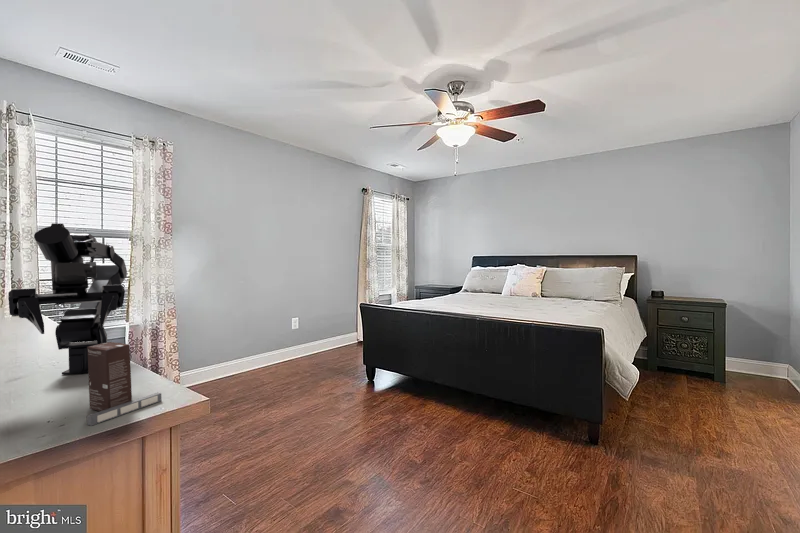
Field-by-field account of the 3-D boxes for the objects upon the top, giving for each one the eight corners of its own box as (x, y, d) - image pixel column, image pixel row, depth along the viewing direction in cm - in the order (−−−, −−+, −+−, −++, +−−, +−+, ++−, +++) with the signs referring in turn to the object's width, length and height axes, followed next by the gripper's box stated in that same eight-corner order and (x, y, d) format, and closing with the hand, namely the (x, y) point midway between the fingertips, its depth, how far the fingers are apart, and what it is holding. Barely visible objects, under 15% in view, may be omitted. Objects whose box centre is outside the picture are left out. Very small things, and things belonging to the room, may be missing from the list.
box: (87, 410, 69) (85, 346, 69) (113, 401, 73) (112, 341, 73) (107, 415, 67) (105, 348, 67) (133, 406, 71) (132, 343, 71)
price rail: (87, 424, 63) (86, 415, 63) (157, 399, 74) (157, 392, 74) (91, 425, 63) (91, 417, 63) (162, 400, 74) (161, 393, 74)
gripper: (7, 249, 74) (6, 309, 67) (122, 250, 88) (132, 300, 80) (10, 286, 80) (9, 345, 73) (118, 282, 93) (126, 332, 86)
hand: (73, 329), depth 78 cm, fingers open, 9 cm apart
